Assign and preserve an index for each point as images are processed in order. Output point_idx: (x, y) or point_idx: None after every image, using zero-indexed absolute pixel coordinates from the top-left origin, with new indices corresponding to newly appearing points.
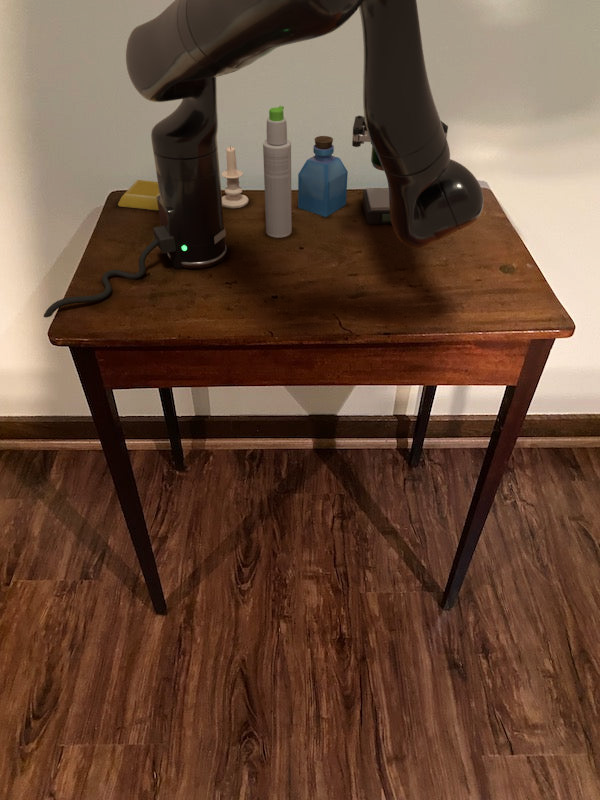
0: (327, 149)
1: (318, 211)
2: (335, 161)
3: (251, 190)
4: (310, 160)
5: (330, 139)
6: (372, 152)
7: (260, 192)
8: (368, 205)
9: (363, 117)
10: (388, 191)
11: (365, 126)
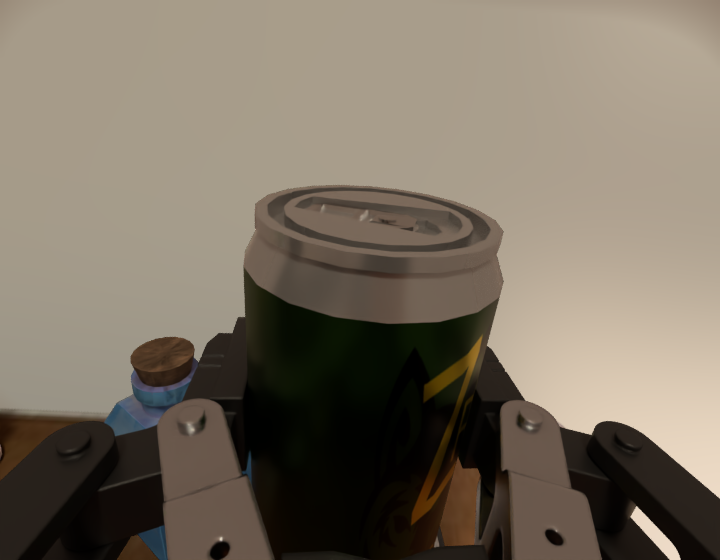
0: (167, 388)
1: (150, 544)
2: None
3: (48, 415)
4: (124, 407)
5: (183, 355)
6: None
7: (63, 425)
8: None
9: (103, 454)
10: None
11: (132, 511)
